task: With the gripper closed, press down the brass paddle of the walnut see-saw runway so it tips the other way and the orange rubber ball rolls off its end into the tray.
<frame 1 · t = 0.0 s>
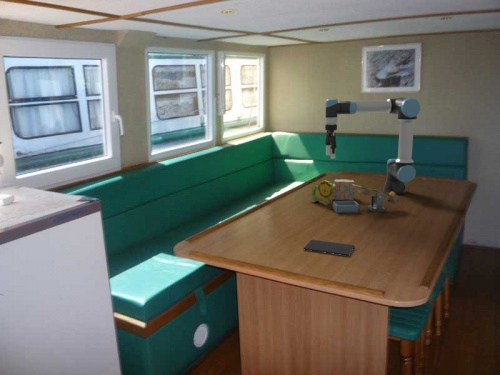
hand: (330, 156, 295), 28 cm above the table, fingers open, 13 cm apart
fulcrum: (376, 209, 275), on the table
tray: (345, 210, 274), on the table
notebook: (329, 250, 213), on the table
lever: (374, 193, 278), point 9 cm above the table, hinge at -14.0°, touching ball
toy lion: (322, 203, 291), on the table
ball: (392, 194, 273), point 9 cm above the table, tilted 28°, touching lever
stack of blocks: (336, 198, 302), on the table
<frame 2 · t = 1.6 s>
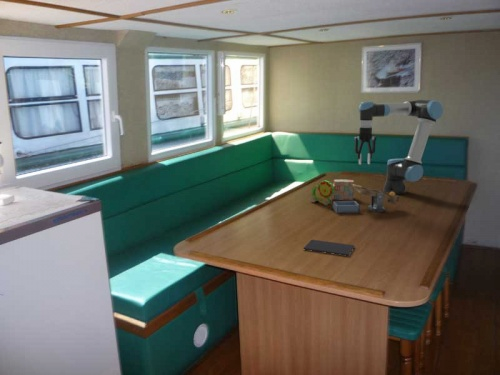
hand: (364, 164, 286), 25 cm above the table, fingers open, 5 cm apart
nothing on the table moved.
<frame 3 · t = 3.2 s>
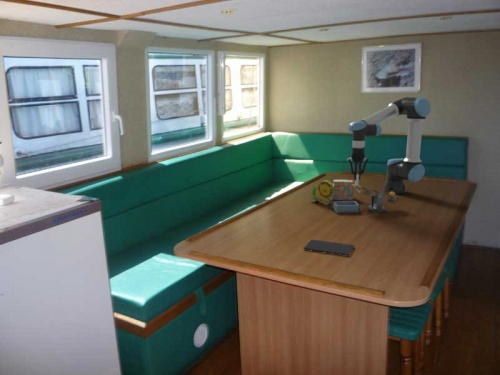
hand: (356, 185, 282), 13 cm above the table, fingers closed
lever: (374, 193, 278), point 9 cm above the table, hinge at -13.8°, touching ball, gripper
everything else where it was.
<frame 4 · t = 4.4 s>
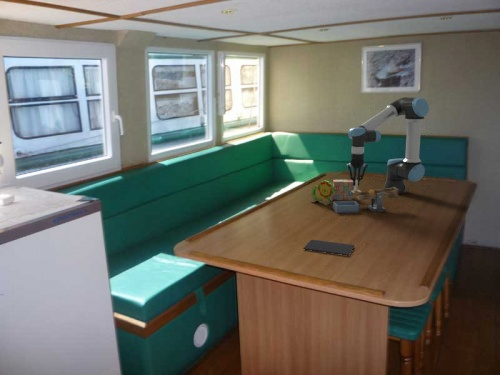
hand: (355, 190, 283), 9 cm above the table, fingers closed
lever: (374, 193, 278), point 9 cm above the table, hinge at 7.0°, touching ball, gripper
ball: (371, 192, 272), point 11 cm above the table, tilted 44°, touching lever
everything else where it was.
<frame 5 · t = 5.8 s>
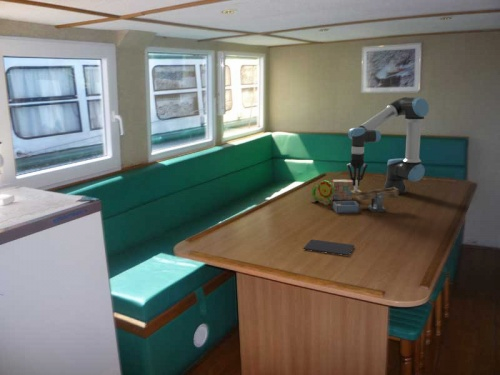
hand: (355, 190, 283), 9 cm above the table, fingers closed
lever: (374, 193, 278), point 9 cm above the table, hinge at 7.1°, touching gripper
ball: (338, 206, 273), point 2 cm above the table, tilted 8°, touching tray
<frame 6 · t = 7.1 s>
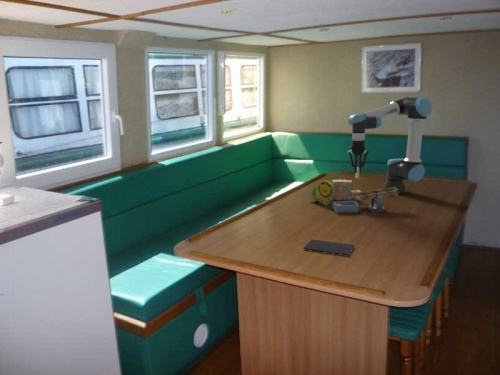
hand: (357, 177, 281), 18 cm above the table, fingers closed
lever: (374, 193, 278), point 9 cm above the table, hinge at 7.1°
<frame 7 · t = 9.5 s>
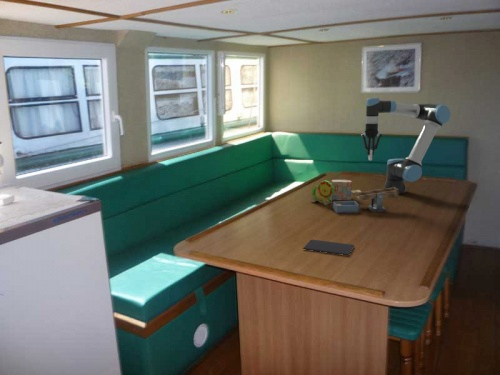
hand: (370, 160, 290), 26 cm above the table, fingers closed
at the end: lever at +7° (first picture: -14°); ball inside the target area on the tray (4.3 cm from its centre), point 2.5 cm above the tray's base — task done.
